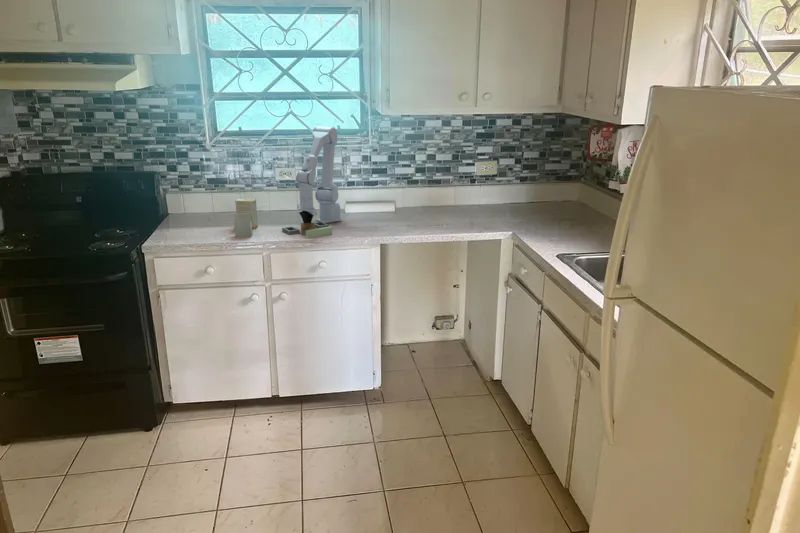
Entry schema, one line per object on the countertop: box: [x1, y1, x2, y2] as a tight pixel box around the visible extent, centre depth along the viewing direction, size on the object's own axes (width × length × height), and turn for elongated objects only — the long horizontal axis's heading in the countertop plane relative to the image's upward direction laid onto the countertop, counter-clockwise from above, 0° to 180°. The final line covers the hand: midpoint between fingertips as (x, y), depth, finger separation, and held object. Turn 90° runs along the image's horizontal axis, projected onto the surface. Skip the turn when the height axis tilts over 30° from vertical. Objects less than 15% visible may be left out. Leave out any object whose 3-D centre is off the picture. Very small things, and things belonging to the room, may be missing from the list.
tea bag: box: [233, 213, 253, 238], centre depth 260 cm, size 4×7×10 cm, turn 93°
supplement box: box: [234, 197, 259, 230], centre depth 273 cm, size 8×5×13 cm, turn 74°
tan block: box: [300, 222, 317, 236], centre depth 267 cm, size 6×5×4 cm
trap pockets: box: [281, 221, 333, 239], centre depth 269 cm, size 20×16×3 cm
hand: (307, 227), depth 271 cm, fingers closed
